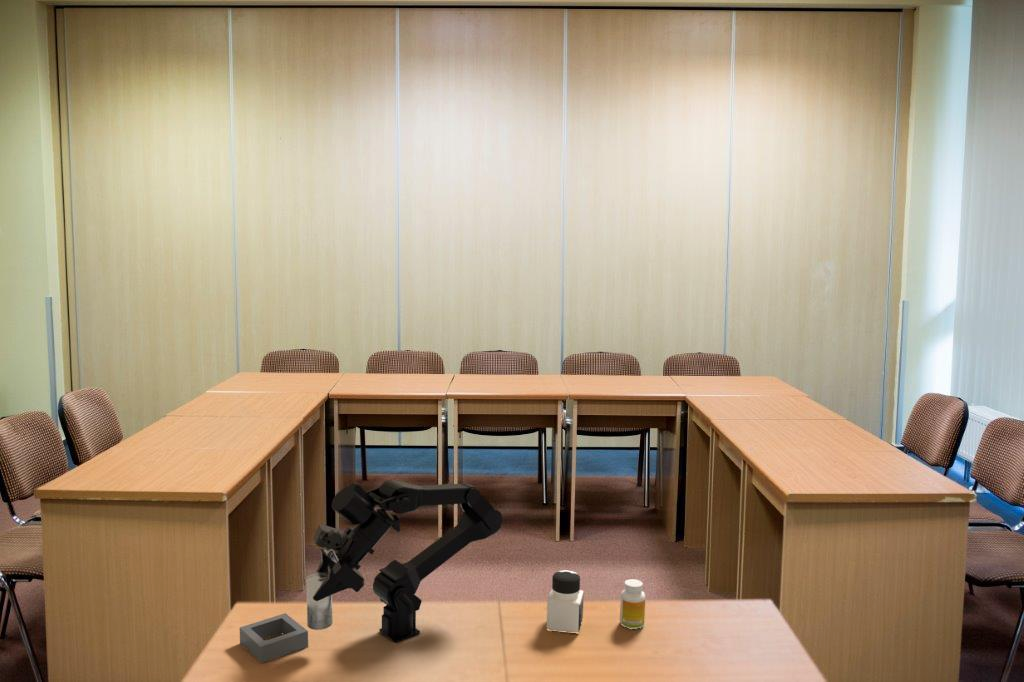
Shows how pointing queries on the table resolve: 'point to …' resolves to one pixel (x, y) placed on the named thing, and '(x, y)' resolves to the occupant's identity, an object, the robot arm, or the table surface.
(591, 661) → the table surface
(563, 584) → the medicine bottle
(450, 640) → the table surface
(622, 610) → the supplement bottle
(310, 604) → the steel shaft
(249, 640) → the grey square frame
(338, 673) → the table surface
